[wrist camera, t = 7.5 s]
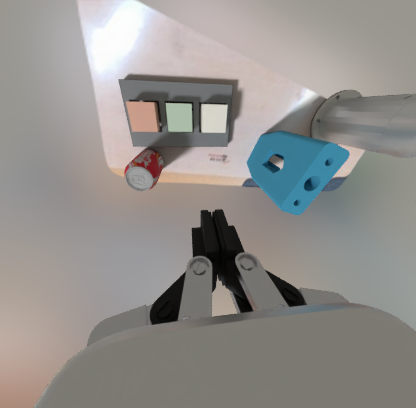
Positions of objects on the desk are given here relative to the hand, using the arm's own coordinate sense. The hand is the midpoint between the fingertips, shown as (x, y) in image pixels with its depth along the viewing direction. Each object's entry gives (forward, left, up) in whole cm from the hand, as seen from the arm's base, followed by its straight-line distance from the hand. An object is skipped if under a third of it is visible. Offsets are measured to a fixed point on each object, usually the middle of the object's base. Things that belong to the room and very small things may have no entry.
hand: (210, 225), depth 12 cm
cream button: (-4, -6, -29) cm, 30 cm away
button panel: (+3, -6, -31) cm, 32 cm away
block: (-18, +2, -31) cm, 36 cm away
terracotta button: (+10, -6, -29) cm, 31 cm away
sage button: (+3, -6, -30) cm, 30 cm away
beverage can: (+11, +4, -31) cm, 33 cm away
